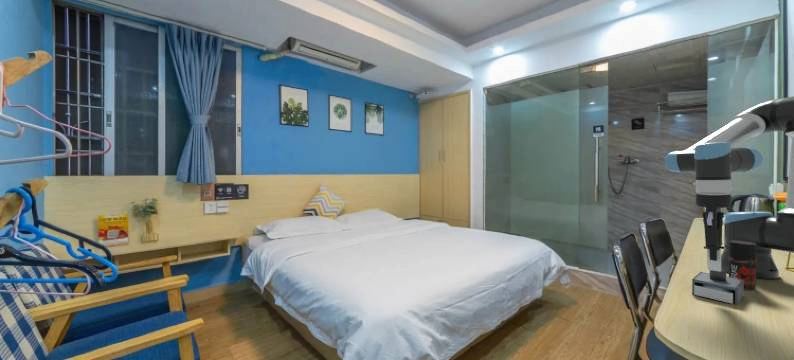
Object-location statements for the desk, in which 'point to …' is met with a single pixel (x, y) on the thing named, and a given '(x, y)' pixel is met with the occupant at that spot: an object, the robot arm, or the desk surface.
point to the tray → (714, 294)
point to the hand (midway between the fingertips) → (714, 269)
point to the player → (720, 282)
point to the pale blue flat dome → (717, 288)
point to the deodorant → (743, 262)
